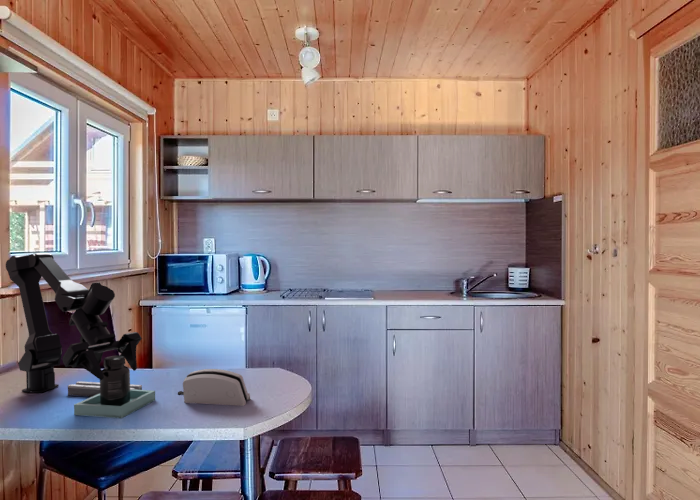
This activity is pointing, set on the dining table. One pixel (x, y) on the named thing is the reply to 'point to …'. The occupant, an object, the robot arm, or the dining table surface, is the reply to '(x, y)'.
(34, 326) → the robot arm
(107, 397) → the supplement bottle
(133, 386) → the t-slot rail
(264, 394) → the dining table surface
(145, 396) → the tray
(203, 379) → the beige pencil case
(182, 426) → the dining table surface
